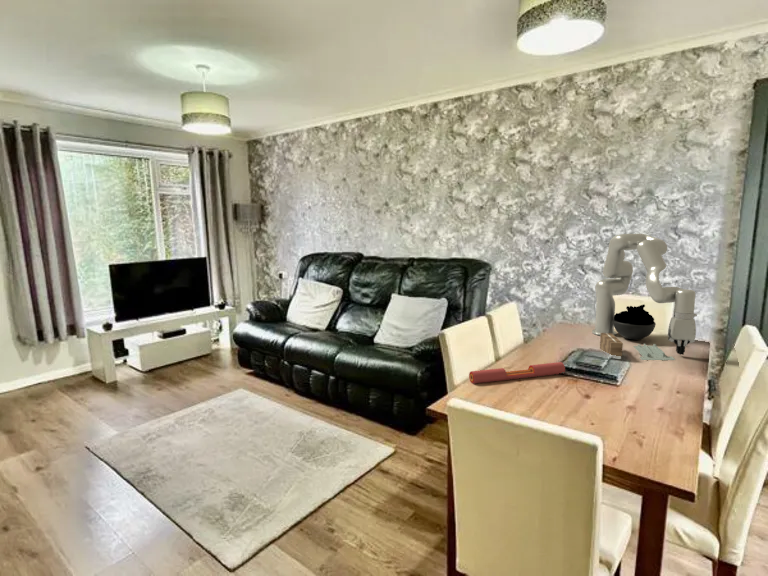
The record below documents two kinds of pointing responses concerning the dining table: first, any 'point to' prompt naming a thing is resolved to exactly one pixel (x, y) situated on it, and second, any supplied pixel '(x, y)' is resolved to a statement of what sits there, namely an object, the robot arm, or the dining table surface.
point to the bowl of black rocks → (634, 323)
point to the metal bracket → (652, 353)
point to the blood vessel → (516, 373)
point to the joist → (611, 344)
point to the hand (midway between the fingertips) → (680, 353)
